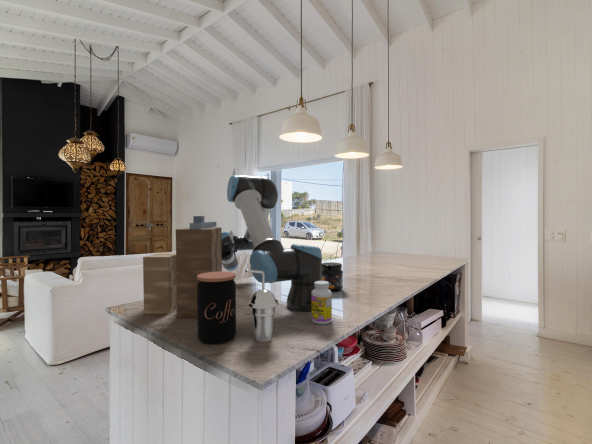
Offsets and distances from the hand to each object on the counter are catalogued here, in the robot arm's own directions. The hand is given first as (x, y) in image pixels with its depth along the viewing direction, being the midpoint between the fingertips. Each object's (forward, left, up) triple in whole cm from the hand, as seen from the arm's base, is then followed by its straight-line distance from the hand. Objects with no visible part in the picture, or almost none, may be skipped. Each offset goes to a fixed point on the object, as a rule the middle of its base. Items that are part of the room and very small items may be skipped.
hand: (214, 233), depth 136 cm
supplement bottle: (-53, +1, -27) cm, 59 cm away
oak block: (+3, +22, -27) cm, 35 cm away
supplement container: (-34, -39, -27) cm, 59 cm away
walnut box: (-12, +17, -27) cm, 34 cm away
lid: (-9, +13, +3) cm, 16 cm away
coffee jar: (-36, +30, -27) cm, 54 cm away
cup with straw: (-47, +23, -27) cm, 59 cm away
